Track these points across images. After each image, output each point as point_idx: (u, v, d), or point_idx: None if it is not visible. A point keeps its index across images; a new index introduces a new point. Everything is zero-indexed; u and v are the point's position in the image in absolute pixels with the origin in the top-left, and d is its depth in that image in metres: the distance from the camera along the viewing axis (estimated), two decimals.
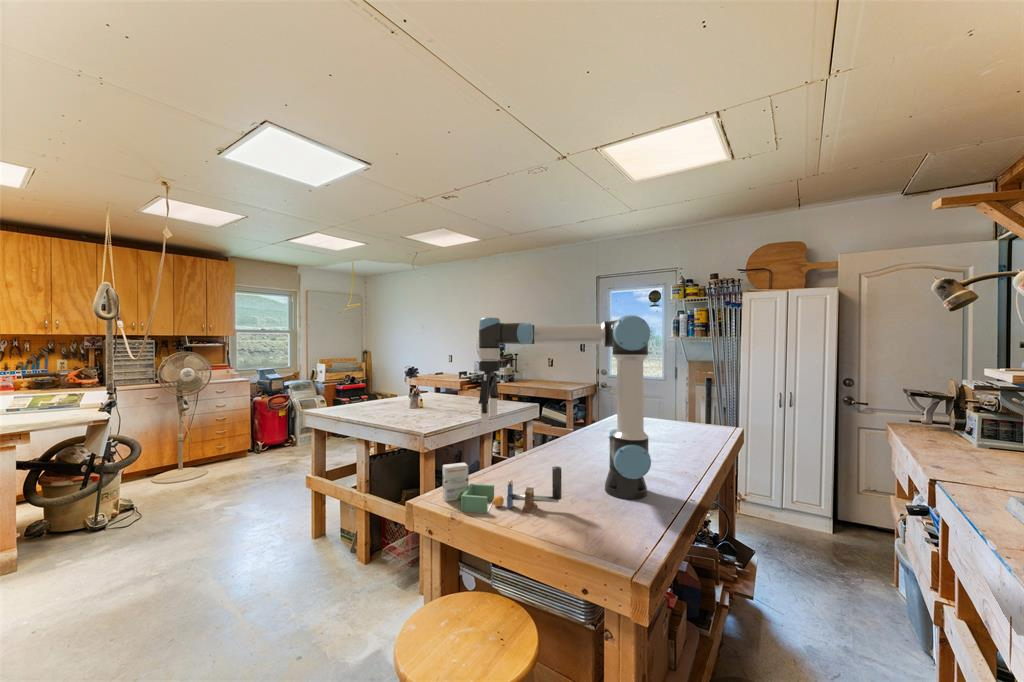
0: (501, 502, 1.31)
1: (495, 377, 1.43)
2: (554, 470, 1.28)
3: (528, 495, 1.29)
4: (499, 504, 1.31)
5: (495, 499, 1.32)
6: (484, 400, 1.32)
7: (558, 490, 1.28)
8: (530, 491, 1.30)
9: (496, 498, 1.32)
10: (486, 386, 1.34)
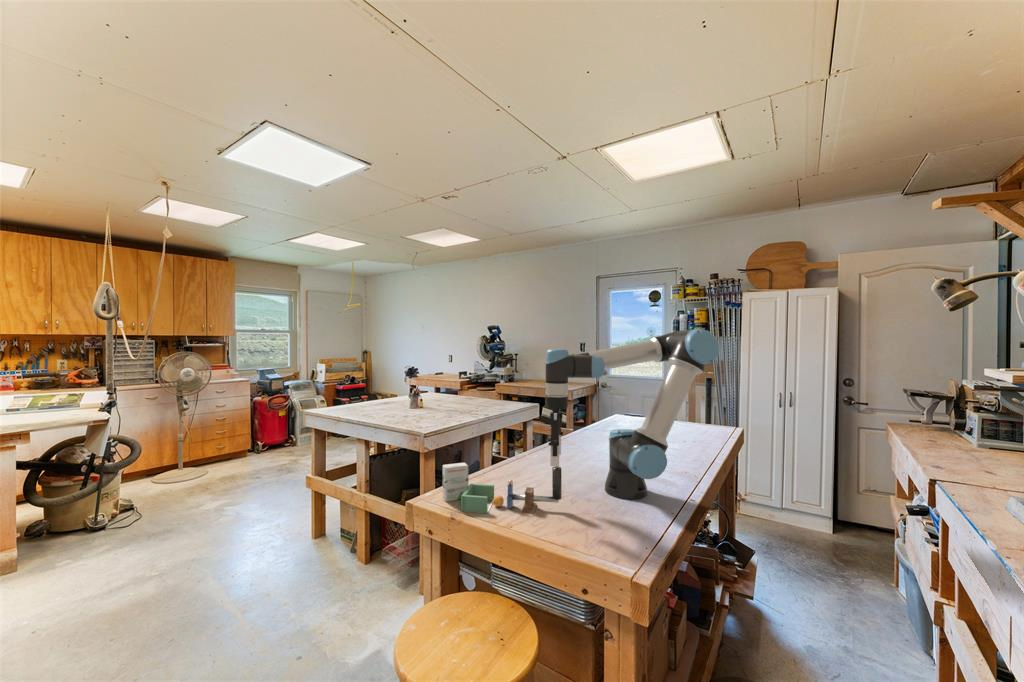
0: (501, 502, 1.31)
1: (562, 414, 1.31)
2: (554, 470, 1.28)
3: (528, 495, 1.29)
4: (499, 504, 1.31)
5: (495, 499, 1.32)
6: (556, 442, 1.20)
7: (558, 490, 1.28)
8: (530, 491, 1.30)
9: (496, 498, 1.32)
10: (557, 426, 1.22)
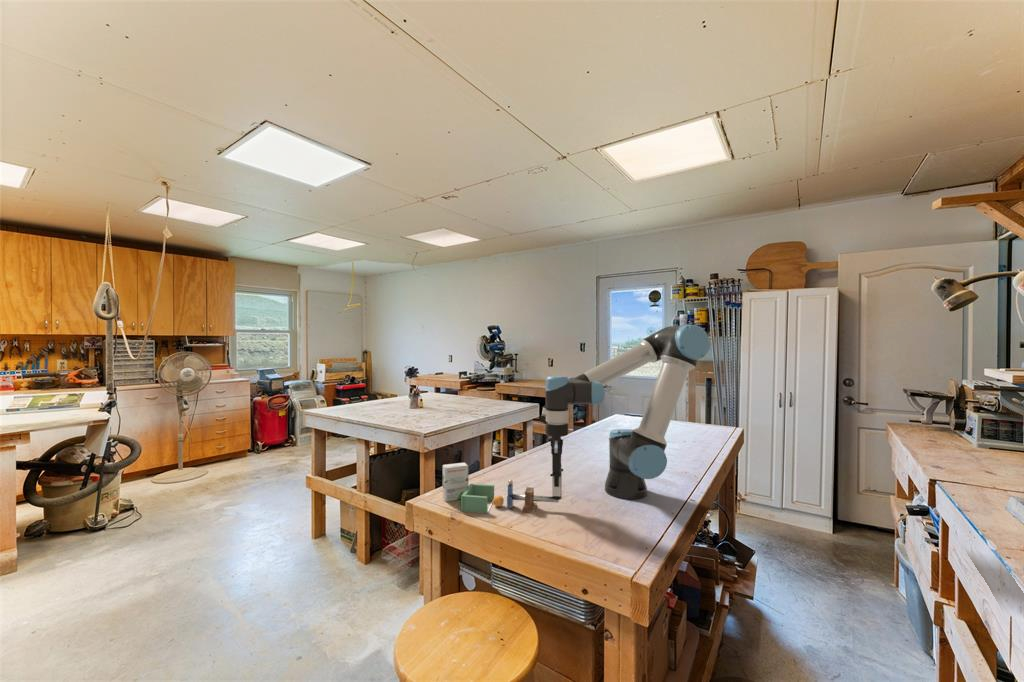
0: (501, 502, 1.31)
1: (562, 441, 1.31)
2: None
3: (528, 495, 1.29)
4: (499, 504, 1.31)
5: (495, 499, 1.32)
6: (557, 474, 1.25)
7: None
8: (530, 491, 1.30)
9: (496, 498, 1.32)
10: (558, 460, 1.24)
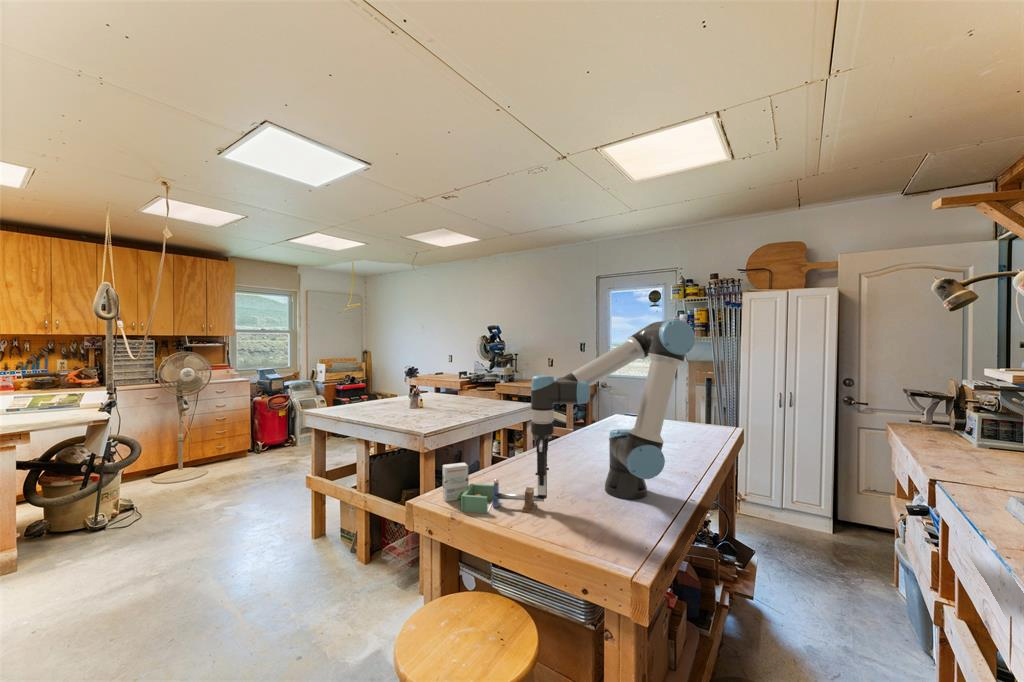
0: None
1: (548, 440, 1.32)
2: None
3: (528, 495, 1.29)
4: None
5: None
6: (542, 473, 1.25)
7: None
8: (530, 491, 1.30)
9: None
10: (543, 458, 1.25)
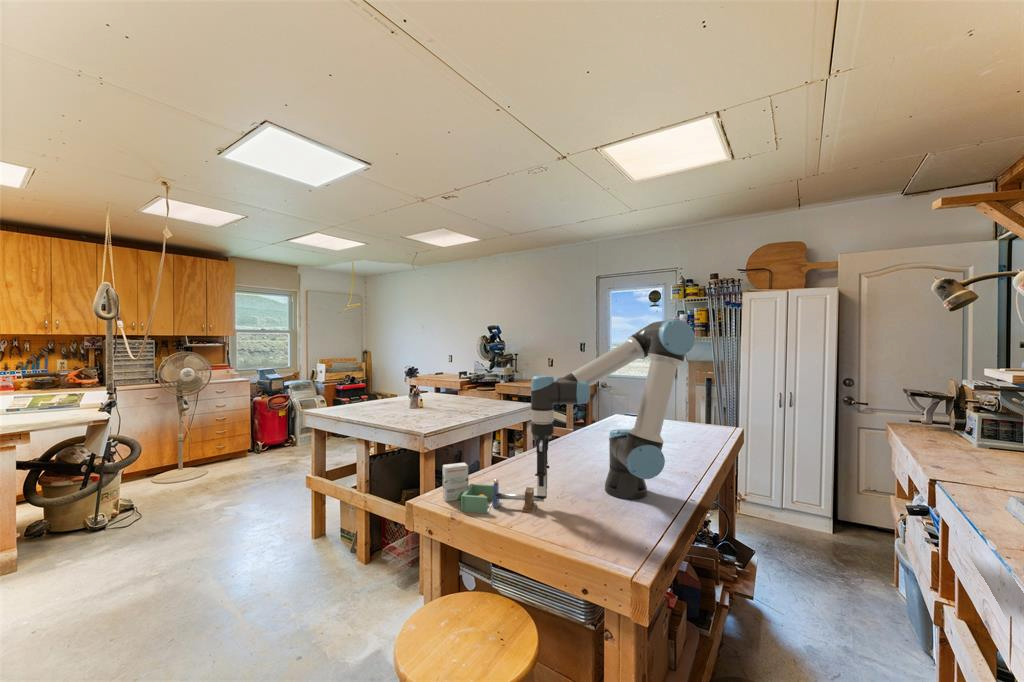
0: None
1: (548, 440, 1.32)
2: None
3: (528, 495, 1.29)
4: None
5: None
6: (542, 473, 1.24)
7: None
8: (530, 491, 1.30)
9: None
10: (543, 458, 1.24)
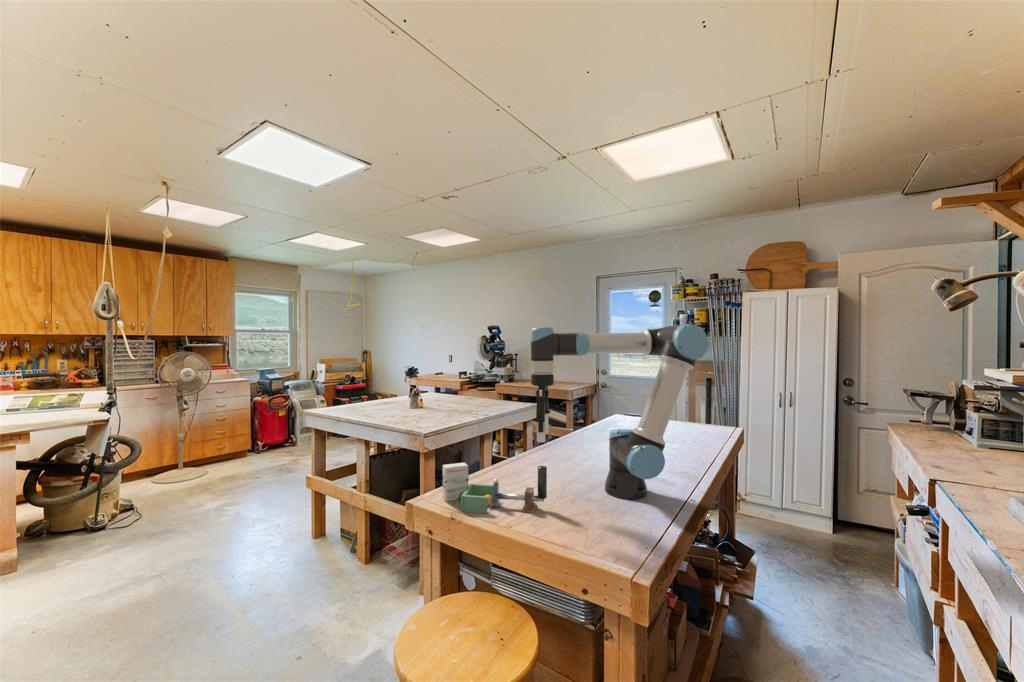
0: None
1: (548, 391, 1.32)
2: (539, 469, 1.29)
3: (528, 495, 1.29)
4: (487, 499, 1.32)
5: None
6: (541, 418, 1.21)
7: (543, 489, 1.29)
8: (530, 491, 1.30)
9: None
10: (542, 402, 1.23)
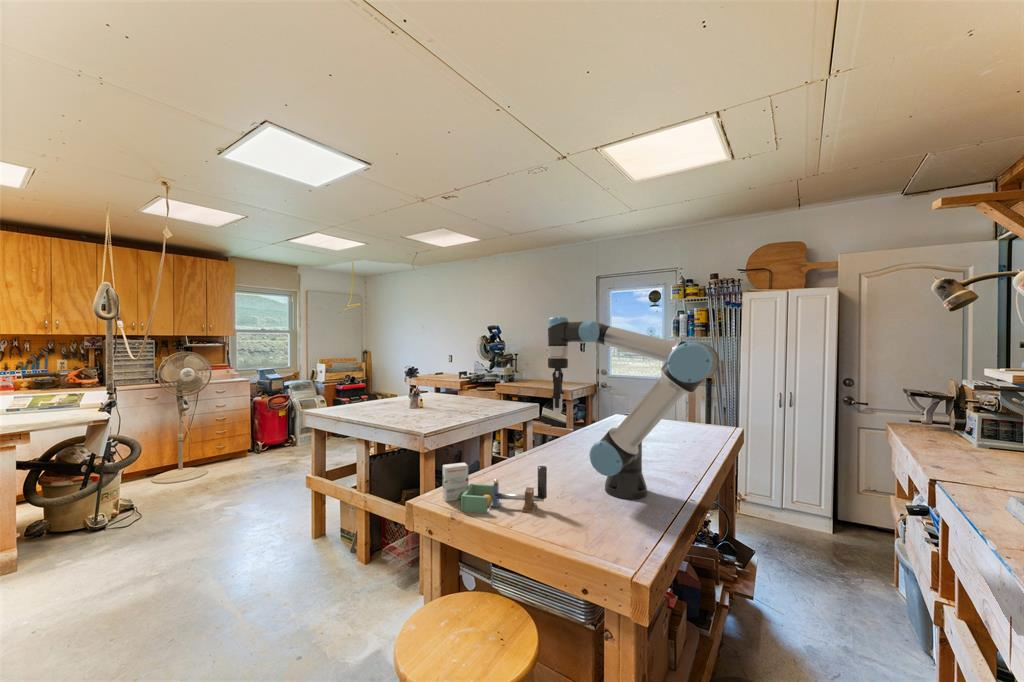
0: None
1: None
2: (539, 469, 1.29)
3: (528, 495, 1.29)
4: None
5: None
6: (558, 395, 1.39)
7: (543, 489, 1.29)
8: (530, 491, 1.30)
9: None
10: (559, 382, 1.41)
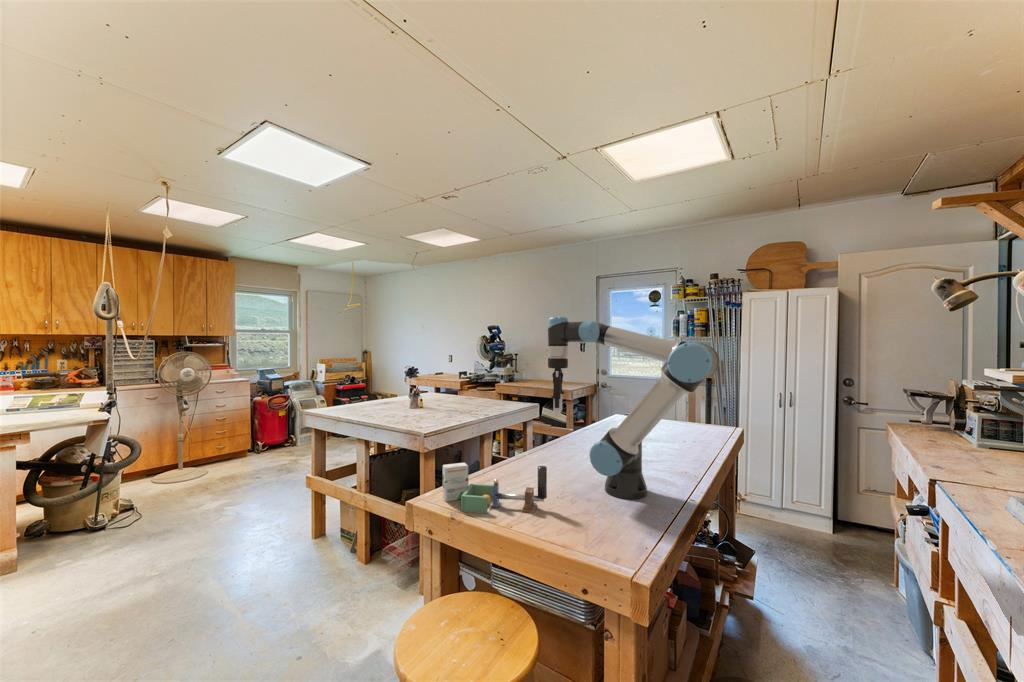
0: None
1: None
2: (539, 469, 1.29)
3: (528, 495, 1.29)
4: None
5: None
6: (558, 395, 1.39)
7: (543, 489, 1.29)
8: (530, 491, 1.30)
9: None
10: (559, 382, 1.41)
